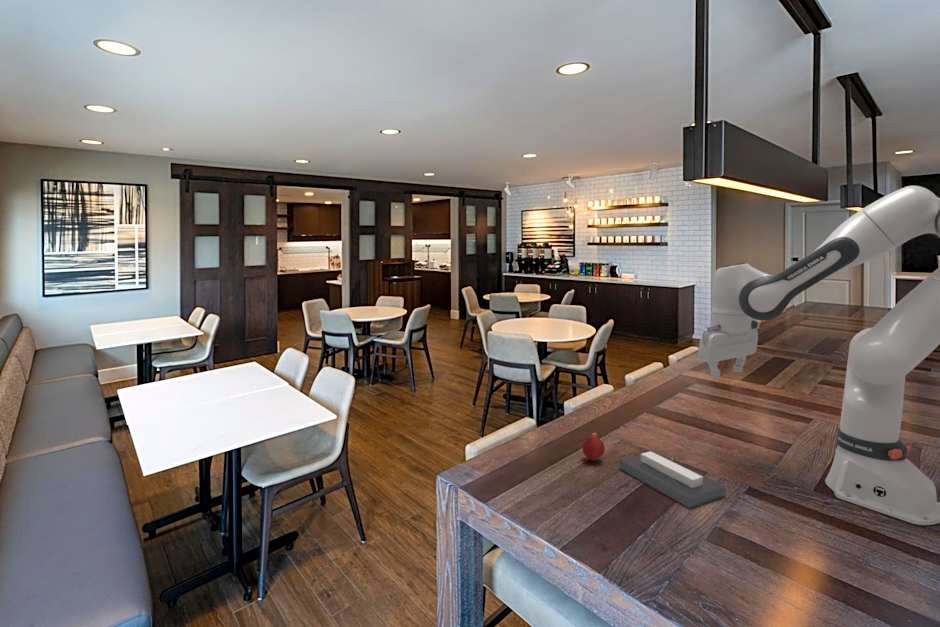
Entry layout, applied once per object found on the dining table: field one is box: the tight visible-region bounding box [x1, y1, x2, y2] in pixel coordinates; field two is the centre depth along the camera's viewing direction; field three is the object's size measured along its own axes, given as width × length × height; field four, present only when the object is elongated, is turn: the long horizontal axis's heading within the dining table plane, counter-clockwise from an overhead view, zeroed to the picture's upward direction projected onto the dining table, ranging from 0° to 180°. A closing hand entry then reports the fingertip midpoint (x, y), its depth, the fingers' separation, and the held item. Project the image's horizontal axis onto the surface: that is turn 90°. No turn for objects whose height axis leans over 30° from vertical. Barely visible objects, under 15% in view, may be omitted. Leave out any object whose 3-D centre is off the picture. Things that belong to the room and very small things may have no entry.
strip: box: [640, 451, 703, 488], centre depth 125 cm, size 16×4×4 cm, turn 27°
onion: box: [581, 432, 606, 462], centre depth 137 cm, size 6×6×8 cm
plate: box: [619, 451, 727, 509], centre depth 125 cm, size 22×12×2 cm, turn 27°
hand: (726, 374), depth 136 cm, fingers open, 8 cm apart
